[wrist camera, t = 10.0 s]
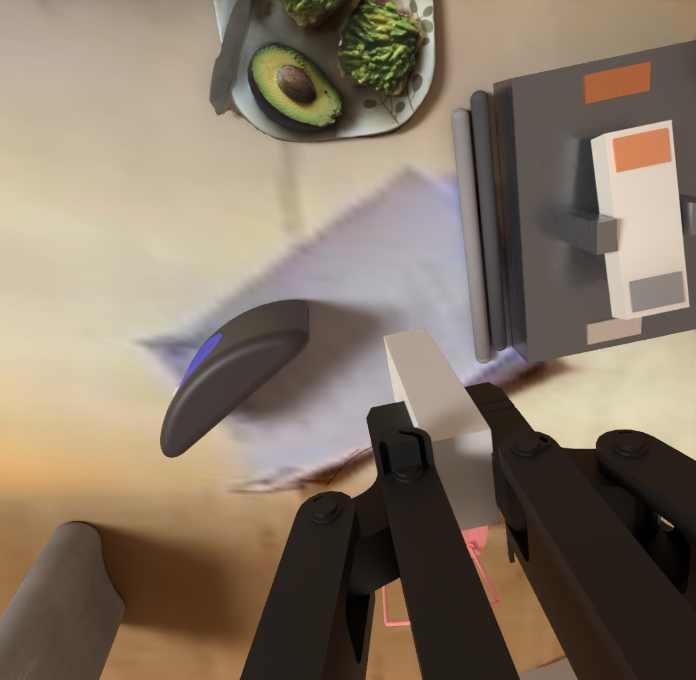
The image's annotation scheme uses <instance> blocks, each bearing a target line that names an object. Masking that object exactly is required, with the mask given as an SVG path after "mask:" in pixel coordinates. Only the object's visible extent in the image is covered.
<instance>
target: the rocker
mask: <svg viewBox="0 0 696 680" xmlns="http://www.w3.org/2000/svg"><path fill="white" fill-rule="evenodd" d="M591 146H592V154H593V163H594V171H595V179H596V187H597V196H598V204H599V212H600V215H603V216H607V217H611V218H615V219H617V250H616V251H614V252H609V253H605V261H606V270H607V278H608V286H609V294H610V303H611V311H612V317H614V318H619V319H624V320H629V319H633V318H638V317H643V316H648V315H653V314H657V313H662V312H667V311H672V310H677V309H681V308H686V307H690V306H689V296H688V286H687V275H686V265H685V254H684V244H683V234H682V223H681V213H680V203H679V192H678V182H677V171H676V161H675V151H674V140H673V130H672V120H668V121H663V122H658V123H654V124H649V125H644V126H639V127H634V128H629V129H625V130H620V131H615V132H610V133H605V134H603V135H601V136H599V137H596V138H594V139H592V140H591Z"/></svg>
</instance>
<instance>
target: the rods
mask: <svg viewBox="0 0 696 680" xmlns="http://www.w3.org/2000/svg"><path fill="white" fill-rule="evenodd" d="M470 102H471V114H472V125H473V136H474V147H475V159H476V170H477V181H478V193H479V204H480V215H481V226H482V238H483V249H484V260H485V271H486V283H487V294H488V305H489V317H490V328H491V339H492V346H493V348H494V349H495V350H497V351H502V350H504V349H505V348H506V346H507V339H506V326H505V313H504V300H503V287H502V273H501V260H500V247H499V234H498V221H497V208H496V195H495V182H494V169H493V155H492V142H491V129H490V116H489V103H488V95H487V94H486V92H484V91H482V90H479V91H476V92H474V93H473V95H472V96H471V100H470ZM451 120H452V129H453V139H454V149H455V158H456V168H457V178H458V188H459V197H460V207H461V217H462V226H463V236H464V246H465V256H466V265H467V275H468V285H469V294H470V304H471V314H472V323H473V333H474V343H475V353H476V359H477V361H478V362H479V363H482V364H484V363H487V362H488V361H489V360H490V358H491V355H490V344H489V333H488V322H487V311H486V300H485V289H484V278H483V267H482V256H481V245H480V234H479V223H478V212H477V201H476V189H475V178H474V167H473V156H472V145H471V134H470V123H469V114H468V112H467V110H465V109H464V108H458V109H456V110H455V111H454V112H453V114H452V117H451Z"/></svg>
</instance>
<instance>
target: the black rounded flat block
mask: <svg viewBox="0 0 696 680" xmlns="http://www.w3.org/2000/svg"><path fill="white" fill-rule="evenodd" d="M308 342H309V309H308V307H307V305H306V304H305V303H303V302H300V301H295V300H284V301H277V302H272V303H268V304H265V305H261V306H258V307H256V308H253V309H251V310H249V311H246V312H244V313H242V314H241V315H239V316H237V317H235V318H234V319H232V320H230V321H229V322H228V323H226V324H225V325H224V326H222V327H221V328H220V329H219V330H217V331H216V332H215V333H214V334H213V335H212V336H211V337H210V338H209V339H208V340H207V341H206V342H205V343H204V345H203V346H202V347H201V348H200V350H199V351H198V352H197V354H196V355H195V357H194V359H193V360H192V362H191V364H190V366H189V368H188V370H187V372H186V374H185V376H184V378H183V380H182V382H181V383H179V385H177V386H176V388H175V390H174V393H173V399H172V401H171V404H170V405H169V408H168V410H167V412H166V415H165V418H164V421H163V425H162V429H161V436H160V445H161V449H162V452H163V454H164V455H165V456H167V457H170V458H173V457H177V456H179V455H181V454H183V453H184V452H185V451H187V450H188V449H189V448H190V447H191V446H193V445H194V444H195V443H196V442H197V441H198V440H199V439H201V438H202V437H203V436H204V435H205V434H206V433H208V432H209V431H210V430H211V429H212V428H213V427H215V426H216V425H217V424H218V423H219V422H220V421H222V420H223V419H224V418H225V417H226V416H227V415H229V414H230V413H231V412H232V411H233V410H234V409H235V408H237V407H238V406H239V405H240V404H241V403H242V402H244V401H245V400H246V399H247V398H248V397H249V396H251V395H252V394H253V393H254V392H255V391H256V390H258V389H259V388H260V387H261V386H262V385H263V384H265V383H266V382H267V381H268V380H269V379H270V378H271V377H273V376H274V375H275V374H276V373H277V372H278V371H280V370H281V369H282V368H283V367H284V366H285V365H287V364H288V363H289V362H290V361H291V360H292V359H294V358H295V357H296V356H297V355H298V354H299V353H300V352H301V351H302V350H303V349H304V348H305V346H306V345H307V344H308Z"/></svg>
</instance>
